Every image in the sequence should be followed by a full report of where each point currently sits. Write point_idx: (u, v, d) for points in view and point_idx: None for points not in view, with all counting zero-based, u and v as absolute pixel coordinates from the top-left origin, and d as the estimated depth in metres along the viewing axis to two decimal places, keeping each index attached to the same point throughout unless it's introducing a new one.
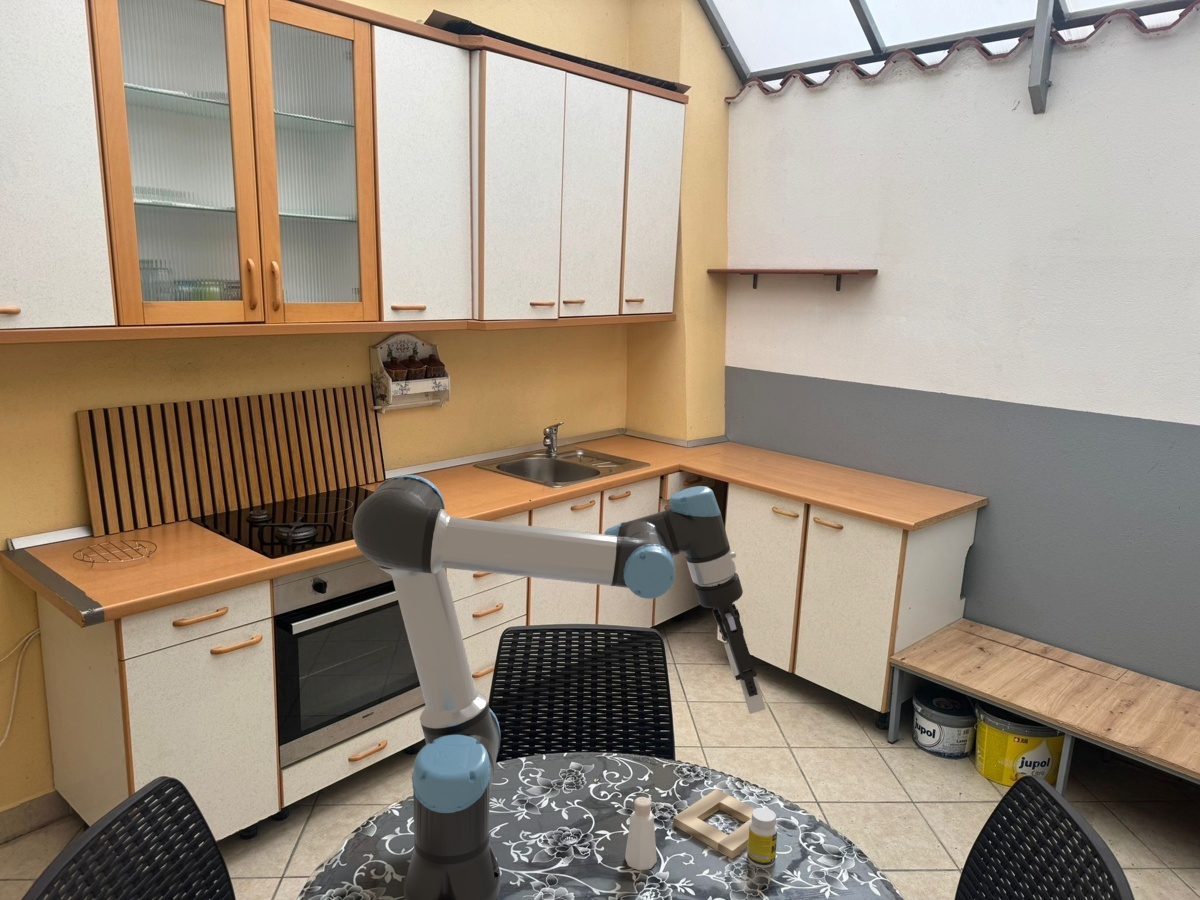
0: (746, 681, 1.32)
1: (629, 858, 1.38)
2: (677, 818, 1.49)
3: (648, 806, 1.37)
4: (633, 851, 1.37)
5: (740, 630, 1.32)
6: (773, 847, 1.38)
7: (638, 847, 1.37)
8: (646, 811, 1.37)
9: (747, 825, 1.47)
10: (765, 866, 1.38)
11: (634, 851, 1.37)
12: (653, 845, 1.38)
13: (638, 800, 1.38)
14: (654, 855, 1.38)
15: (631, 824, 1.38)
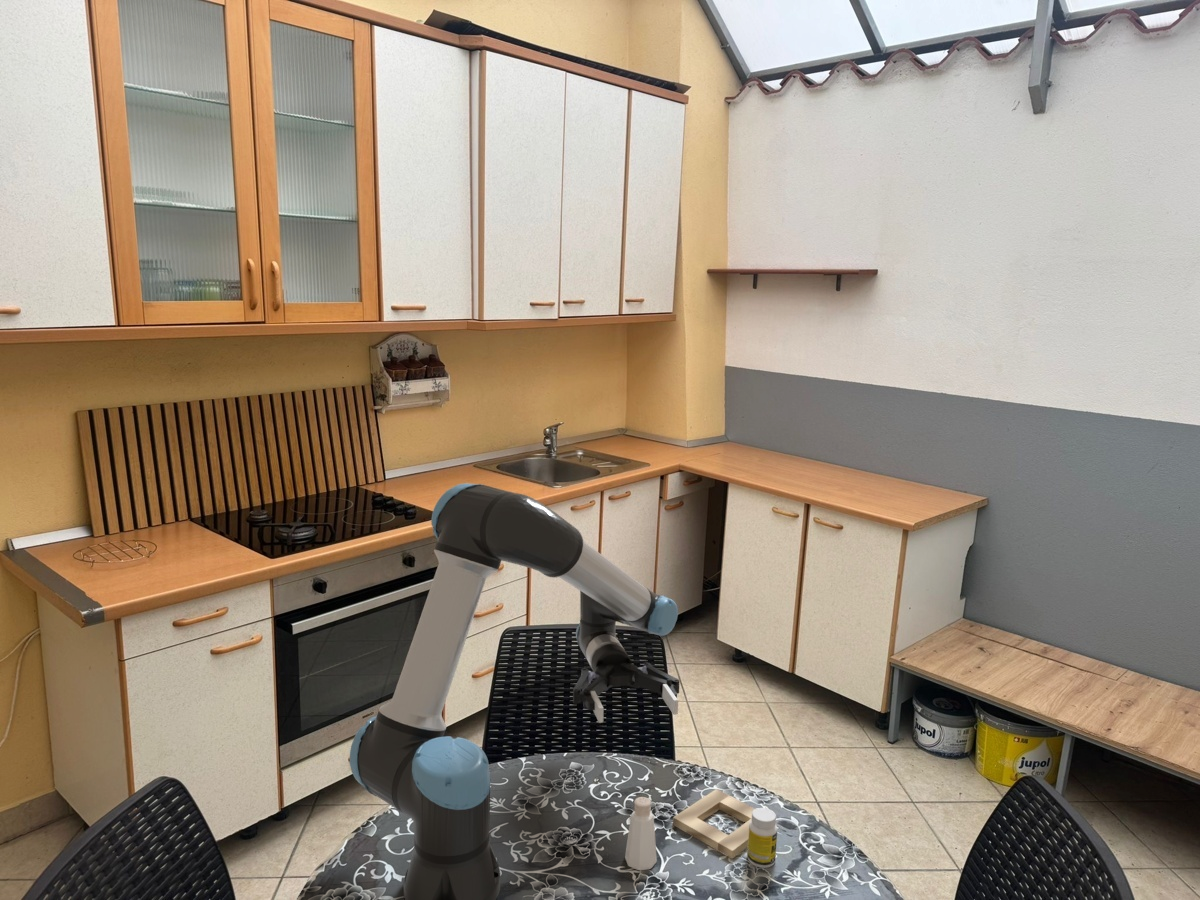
0: (673, 688, 1.53)
1: (629, 858, 1.38)
2: (677, 818, 1.49)
3: (648, 806, 1.37)
4: (633, 851, 1.37)
5: None
6: (773, 847, 1.38)
7: (638, 847, 1.37)
8: (646, 811, 1.37)
9: (747, 825, 1.47)
10: (765, 866, 1.38)
11: (634, 851, 1.37)
12: (653, 845, 1.38)
13: (638, 800, 1.38)
14: (654, 855, 1.38)
15: (631, 824, 1.38)
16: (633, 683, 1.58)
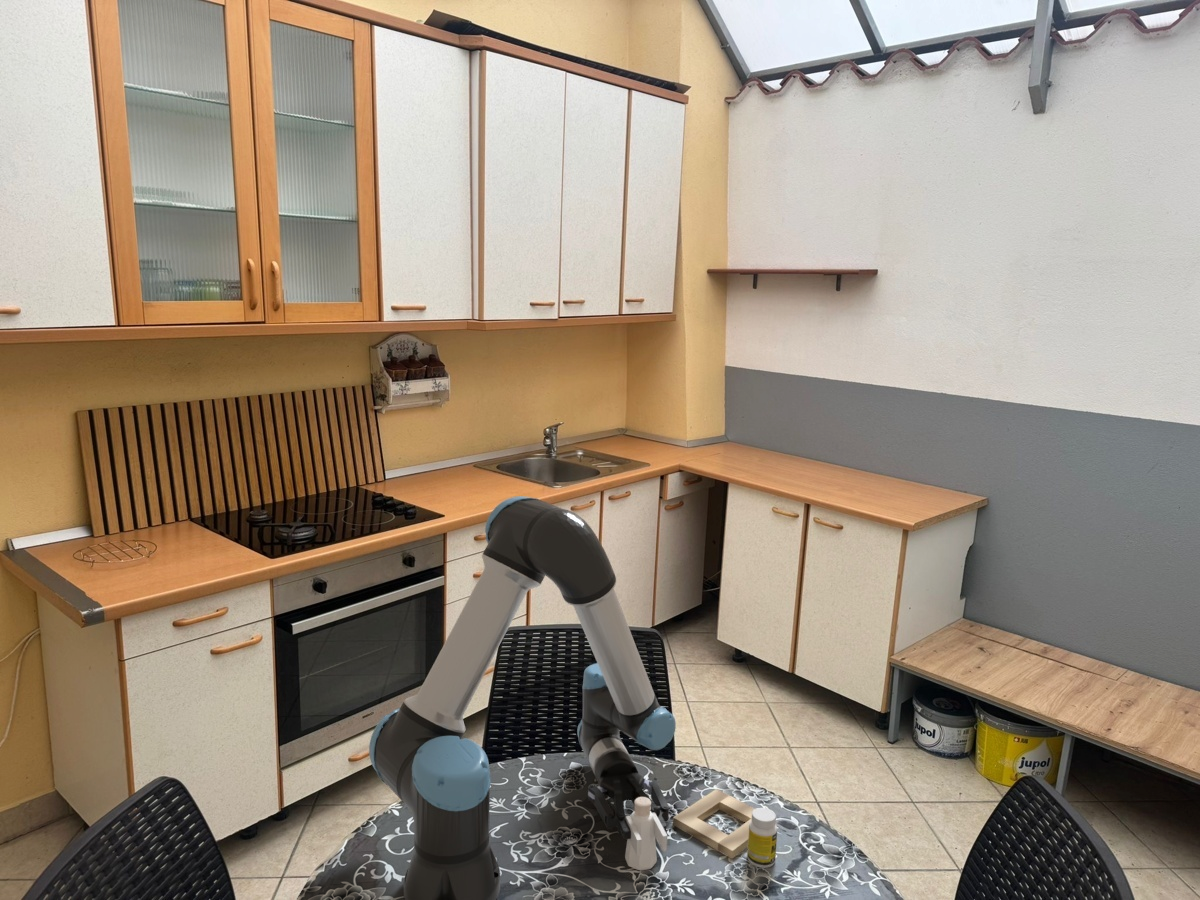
0: (661, 817, 1.40)
1: (629, 858, 1.38)
2: (677, 818, 1.49)
3: (648, 806, 1.37)
4: (633, 851, 1.37)
5: None
6: (772, 847, 1.38)
7: None
8: (646, 811, 1.37)
9: (747, 825, 1.47)
10: (765, 866, 1.38)
11: (634, 851, 1.37)
12: (653, 845, 1.38)
13: (639, 800, 1.38)
14: (654, 855, 1.38)
15: None
16: None
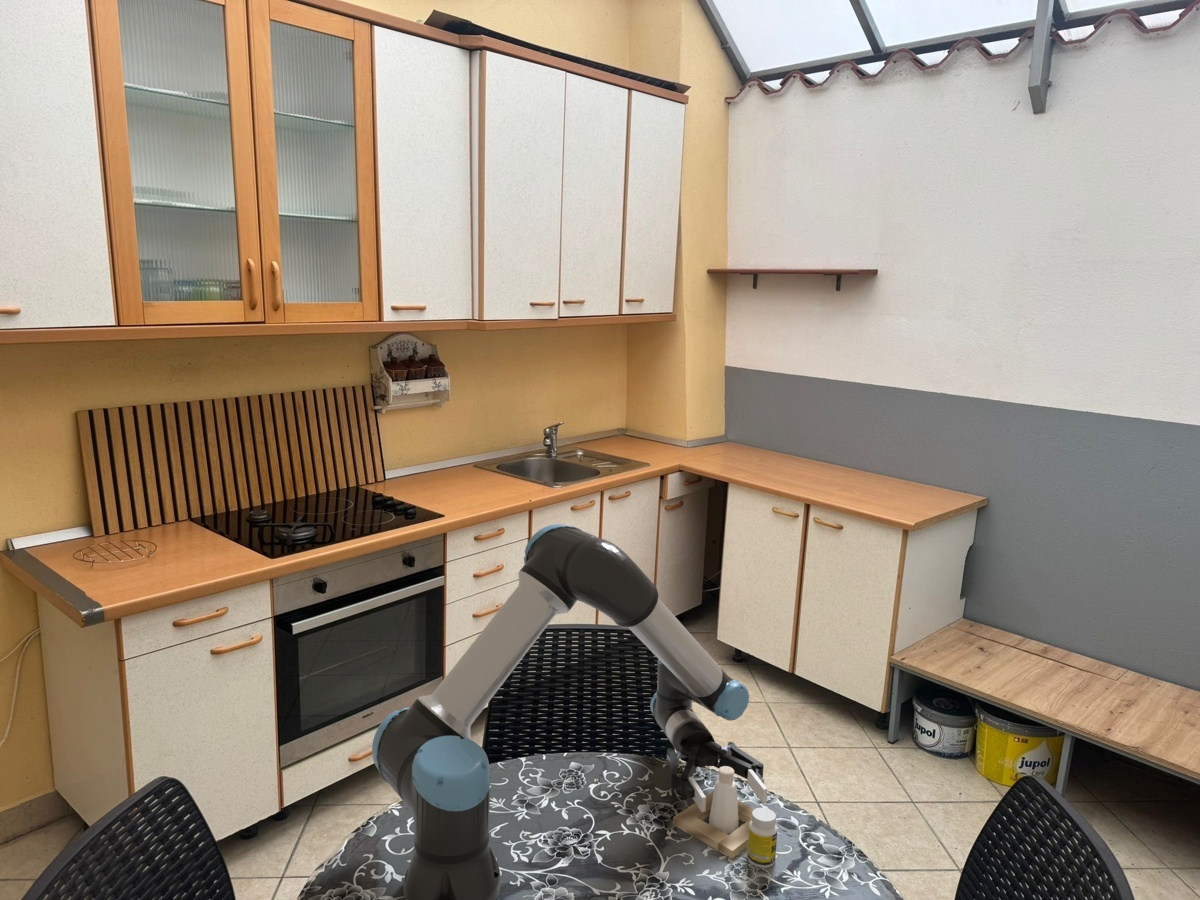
0: None
1: (714, 823, 1.48)
2: (677, 818, 1.49)
3: (732, 774, 1.47)
4: (718, 816, 1.47)
5: None
6: (773, 847, 1.38)
7: (723, 812, 1.47)
8: (730, 779, 1.47)
9: (747, 825, 1.47)
10: (765, 866, 1.38)
11: (719, 817, 1.47)
12: (736, 811, 1.48)
13: (722, 769, 1.48)
14: (737, 820, 1.48)
15: (715, 791, 1.48)
16: (717, 764, 1.58)
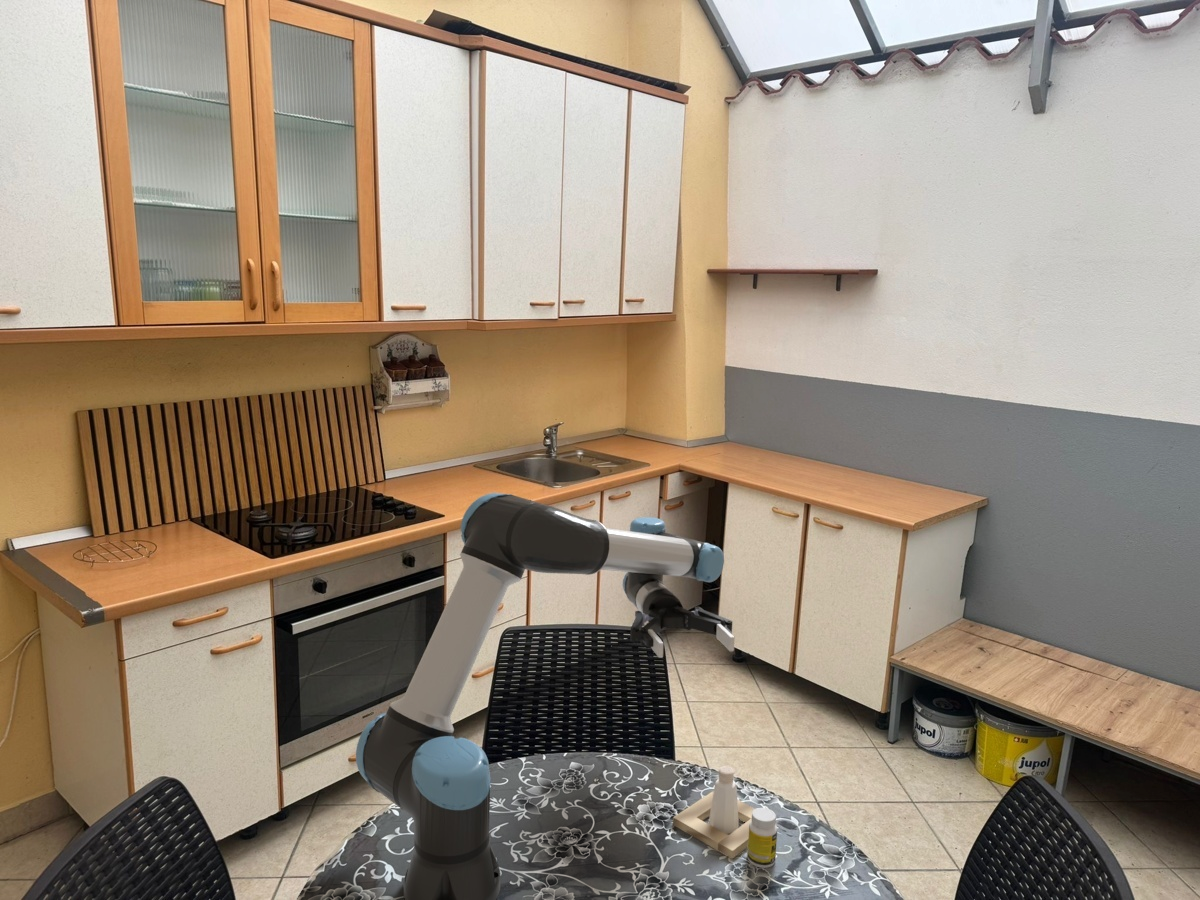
0: (726, 628, 1.57)
1: (714, 823, 1.48)
2: (677, 818, 1.49)
3: (732, 774, 1.47)
4: (718, 816, 1.47)
5: None
6: (773, 847, 1.38)
7: (723, 812, 1.47)
8: (730, 779, 1.47)
9: (747, 825, 1.47)
10: (765, 866, 1.38)
11: (719, 817, 1.47)
12: (736, 811, 1.48)
13: (722, 769, 1.48)
14: (737, 820, 1.48)
15: (715, 791, 1.48)
16: (686, 625, 1.62)
